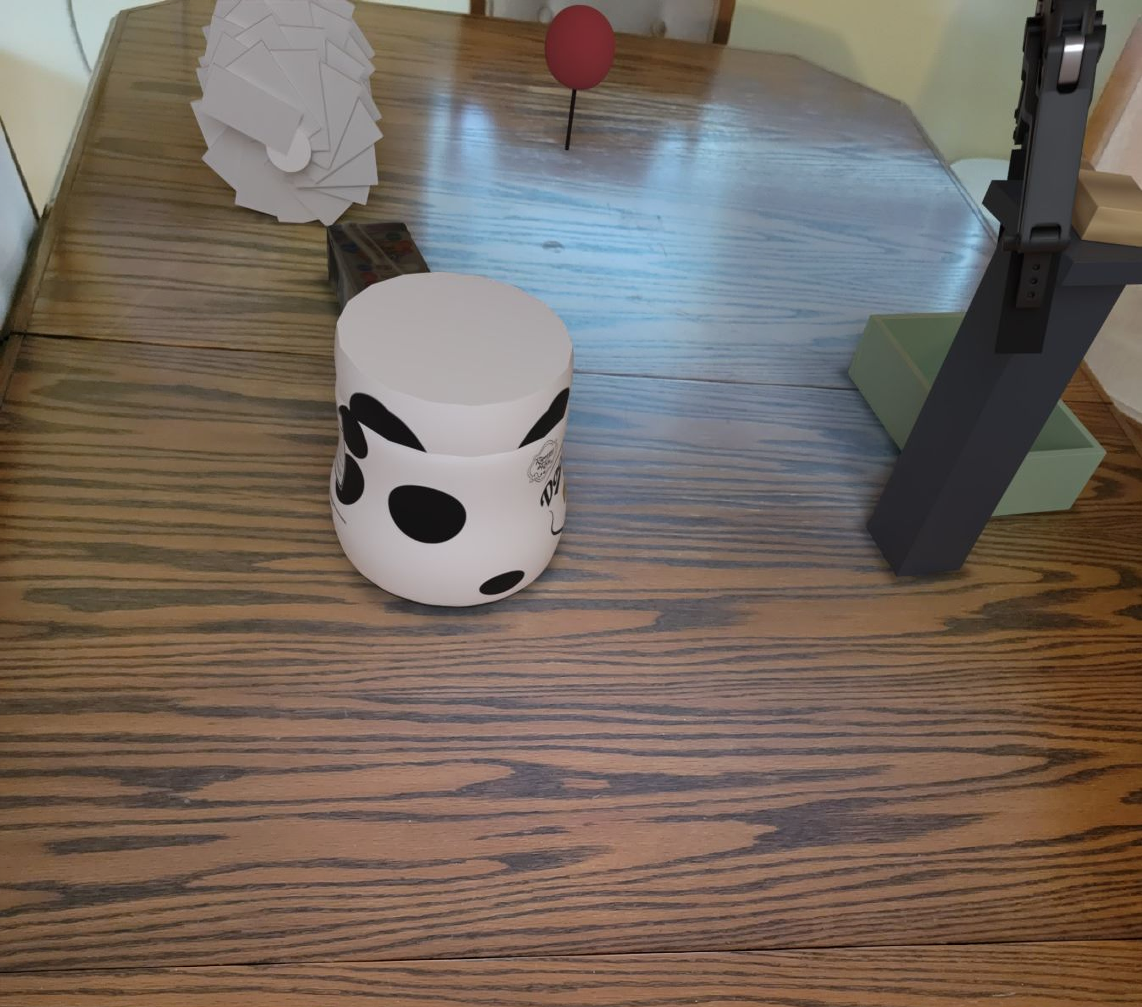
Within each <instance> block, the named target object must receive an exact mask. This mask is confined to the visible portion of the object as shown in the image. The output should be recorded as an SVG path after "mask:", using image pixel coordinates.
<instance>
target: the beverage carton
mask: <svg viewBox="0 0 1142 1007" xmlns="http://www.w3.org/2000/svg"><path fill="white" fill-rule="evenodd" d="M326 254H327V255H326V256H327V260H326V261H327V270H328V282H329V284H330V287H331V289H332V291H333V293H334V296H335V297H336V300H337V302H338V304H339V307H340V311H341V313H342V312H343V310H344V308H345V306H346V304H347V302H348V301H349V300H351V299H352V298H354V297H355V296H356V295H358V294H359V293H361V292H362V291H363V290H365V289H366V288H368V287H369V286H370V285H373V284H376V283H379V282H382V281H385V280H388V279H392V278H395V277H398V276H401V275H406V274H418V273H430V272H431V269H430V268H429V265H428V264H427V262H426V261H425V259H424V257H423V255H422V253H421V252H420V250H419V248H418V246H417V244H416V243H415V240H414V239H413V238H412V235H411V233H410V231H409V229H408V227H407V225H406V223H404V222H399V221H397V222H396V221H395V222H394V221H392V222H390V221H389V222H378V223H377V222H375V223H369V222H368V223H367V222H366V223H359V222H358V221H355V220H347V221H344V222H343V223H340V224H332V225H329V226H326Z"/></svg>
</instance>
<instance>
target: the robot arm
mask: <svg viewBox="0 0 1142 1007" xmlns="http://www.w3.org/2000/svg"><path fill="white" fill-rule="evenodd" d="M1097 3H1098V0H1037V1H1036V6H1035V11H1034V16H1027V17H1026V19H1025V24H1024V30H1023V39H1022V53H1023V56H1022V63H1021V73H1020V80H1021V86H1020V90H1019V91H1020V92H1019V97H1018V101H1017V102H1018V103H1017V107H1016V109H1015V108H1014V114H1013V119H1015V125H1016V126H1015V127H1014V130H1013V133H1012V140H1013V145H1014V146H1020V148H1015V149H1014V148H1012V149H1011V152H1010V156H1009V163H1008V169H1007V170H1008V171H1007V176H1006V180H1024V181H1023V189H1022V198H1021V206H1020V214H1019V223H1018V231H1017V234H1015V236H1004V238H1003V242H1002V249H1001V251H1011V252H1010V258H1009V264H1008V270H1007V276H1006V282H1005V288H1004V294H1003V300H1002V307H1001V313H1000V319H999V325H998V331H997V337H996V343H995V354H1034V353H1042V349H1043V344H1044V339H1045V334H1046V329H1047V324H1048V319H1049V315H1050V310H1051V305H1052V300H1053V295H1054V290H1055V285H1056V280H1057V275H1058V270H1059V265H1060V260H1061V255H1062V252H1065V251H1066V249H1068V246H1069V244H1070V242H1071V234H1070V228H1071V221H1072V215H1073V208H1074V202H1075V195H1076V189H1077V182H1078V176H1079V169H1080V163H1081V156H1082V152H1083V151H1084V150H1083V149H1084V142H1085V136H1086V129H1087V123H1088V115H1089V110H1090V108H1091V104H1092V102H1093V99H1094V90H1095V82H1096V75H1097V67H1098V63H1099V62H1100V60H1101V57H1102V55H1103V52H1104V49H1105V44H1106V38H1107V36H1106V35H1107V29H1108V28H1107V26H1108V25H1107V23H1103V21H1104V14H1105V13H1104V12H1105V11H1104V9H1097ZM1038 224H1055V225H1053V226H1035V225H1038ZM1004 230H1005V227H1004V226H1003V225H1002V224H1001V223H1000V222H999V228H998V235H997V241H996V248H997V245H998V243H999V241H1000V239H1001V237H1002V235H1003V232H1004ZM996 248H995V249H996Z"/></svg>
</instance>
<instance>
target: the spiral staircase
mask: <svg viewBox="0 0 1142 1007" xmlns="http://www.w3.org/2000/svg"><path fill="white" fill-rule="evenodd" d="M355 8H356V5H355V4H354V3H353V2H350V1H349V0H216V3H215V6H214V9H213V13H212V16H211V21H210V24H206V25H203V26H201V30H202V34H203V35H204V38H205V41H206V47H205V52H204V54H202V55H200V56H198V57H197V60H198V62H199V64H200V66H199V67H196V68H195V72H196V75H197V78H198V82H199V85H200V88H201V91H202V97H201V98H200V99H199V98H198V99H195V100H190V103H189V104H190V107H191V109H192V111H193V114H194V117H195V118H196V121H197V124H198V126H199V128H200V131H201V133H202V136H203V139H204V141H205V144H206V146H207V150H206V151H205V153H204V154H203V155H202V156H201V160H202V161H204V163H205V164H206V165H208V166H209V167H210V168H211V170H213V171H214V172H215V173H216V174H217V175H219V177H221V178H222V179H223V180H224V181H225V182H226V183H227V184H228V185H229V186H230V187H231V188H233V190H234V191H235V200H234V205H236V206H240V207H243V208H247V209H250V210H253V211H258V212H260V213H263V214H267V215H271V216H274V217H277V221H278V223H296V224H297V223H298V224H299V223H300V224H305V223H310V222H313V221H317V220H319V221H320V222H321V223H322V224H323V225H324V226H325V227H327V226H329V225H334V223H335V222H336V221H337V220H338V219H339V218H340V217H341V216H342V215H343V214H344V212H345V211H347V209H349V208H350V206H351V205H353V203H357V204H358V205H359V204H360V205H363V206H367V203H368V197H369V193H370V189H371V186H379V179H378V178H379V177H378V169H377V160H376V148H375V143H376V142H378V141H379V140H380V139H382V138H383V137H384V134H383V132H382V131H381V129H380V128H379V126H378V124H377V121H379V120H380V119H382V118H383V117H382V113H381V112H380V110H379V108H378V106H377V104H376V103H375V100H374V99H373V95H372V88H371V79H370V76H371V75H372V74H373V73H374V72H375V71H376V70H377V69H376V66H374V63H372V61H371V60H370V59H372V58H373V57H374V56H375V55H376V52H375V50H374V49H373V47H372V45H371V44H370V42H369V41H368V39H367V38H366V35H365V34H364V33H363V31H362V30H361V28H360V26H359V24H358V23H357V21H356V20H355V18H354V17H353V13H354V11H355Z"/></svg>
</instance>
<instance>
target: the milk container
mask: <svg viewBox="0 0 1142 1007" xmlns="http://www.w3.org/2000/svg"><path fill="white" fill-rule="evenodd" d="M333 357H334V358H333V359H334V368H335V376H336V377H335V382H334V383H335V384H334V393H335V395H334V396H335V405H336V408H335V409H336V416H337V425H338V427H337V428H338V444H337V448H336V452H335V456H334V459H333V463H332V467H331V472H330V477H329V489H328V490H329V491H328V492H329V493H328V496H329V507H330V513H331V518H332V522H333V527H334V530H335V533H336V536H337V539H338V541H339V544H340V547H341V549H342V551H343V552H344V555H345V556H346V557H347V559H348V560H349V561H350V563H351V564H352V565H353V566H354V567H355V569H356V571H357V572H359V573H360V575H362V576H363V577H364V578H365V579H366V580H368V581H369V582H370V583H372V584H373V585H375V586H376V587H378V588H379V589H380V590H382V591H384V592H386V593H387V594H390V595H392V596H394V597H397V598H400V599H402V600H405V601H407V602H411V603H415V604H419V605H423V606H429V607H437V608H451V609H452V608H453V609H464V608H473V607H477V606H478V607H479V606H483V605H488V604H493V603H497V602H500V601H502V600H504V599H507V598H509V597H511V596H513V595H515V594H517V593H519V592H521V591H522V590H524V589H525V588H527V587H529V585H531V584H532V583H533V582H534V581H535V580H536V579H537V578H538V577H539V576H540V575H541V574H542V573H543V572H544V570H545V569H547V567H548V565H549V564H550V561H551V560H552V558H553V556H554V554H555V552H556V549H557V546H558V544H559V542H560V539H561V537H562V532H563V529H564V525H565V519H566V513H567V490H566V482H565V481H566V480H565V477H564V471H563V465H562V454H563V453H562V452H563V444H564V441H565V440H564V439H565V434H566V429H567V424H568V419H569V418H568V417H569V411H570V400H569V398H570V395H571V390H572V386H573V381H574V361H575V360H574V358H575V352H574V345H573V342H572V339H571V337H570V334H569V331H568V328H567V326H566V323H565V322H564V320H562V319H561V318H560V316H558V315H557V314H556V312H554V310H552V309H551V307H549V306H548V305H547V303H545V301H542V300H541V299H539V298H537V297H535V296H533V295H531V294H529V293H528V292H526V291H524V290H522V289H521V288H519V287H517V286H515V285H511V284H508V283H505V282H502V281H499V280H494V279H491V278H488V277H485V276H481V275H476V274H467V273H458V272H447V271H432V272H430V273H418V274H406V275H401V276H398V277H395V278H392V279H388V280H385V281H382V282H379V283H376V284H373V285H370V286H369V287H368V288H366V289H365V290H363V291H362V292H361V293H359V294H358V295H356V296H355V297H354V298H352V299H351V300H349V301H348V302H347V304H346V306H345V308H344V310H343V312H342V311H341V314H340V315H339V318H338V320H337V322H336V326H335V330H334V348H333Z"/></svg>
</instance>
